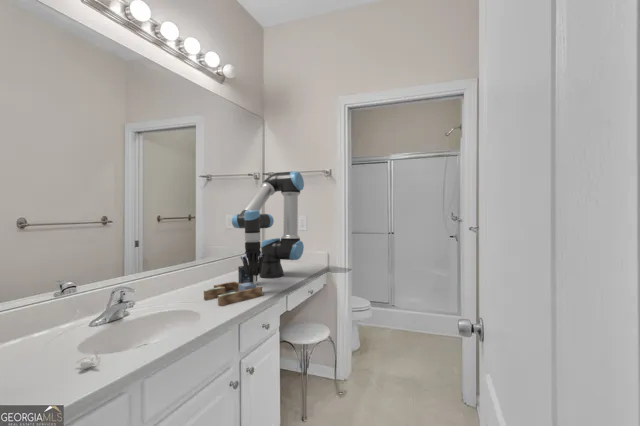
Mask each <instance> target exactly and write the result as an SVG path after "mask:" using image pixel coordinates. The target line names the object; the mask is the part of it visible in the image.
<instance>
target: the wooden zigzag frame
mask: <svg viewBox="0 0 640 426" xmlns="http://www.w3.org/2000/svg"><path fill="white" fill-rule="evenodd" d="M239 284H244V283H239V282H237V281H229V282H225V283H220V284H215V285H213V288H208V289H204V290H203V300H204V301H208V300H212V299H213V300H214V299H216V298H217V305H218V306H219V307H221V306H227V305H229V304H233V303H238V302H242V301H246V300H249V299H254V298H258V297H262V296H263V287H262V286H258V287H257V286H256V288H252V289H248V290H243V291H239V288H238V285H239Z"/></svg>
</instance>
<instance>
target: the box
mask: <svg viewBox="0 0 640 426" xmlns="http://www.w3.org/2000/svg"><path fill="white" fill-rule="evenodd" d="M248 266H249V264H248ZM237 267H238V273H237V274H238V283H248V282H249V283H250V281H249V275H246V273H245V269H244V265H241V266H237Z"/></svg>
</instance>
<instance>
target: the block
mask: <svg viewBox="0 0 640 426" xmlns="http://www.w3.org/2000/svg"><path fill="white" fill-rule="evenodd" d="M238 288H239V291H243V290H248V289H252V288H257V283H256V284H253V283H249V282H248V283H244V284H239V285H238Z"/></svg>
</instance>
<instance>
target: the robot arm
mask: <svg viewBox="0 0 640 426" xmlns="http://www.w3.org/2000/svg"><path fill="white" fill-rule="evenodd" d="M304 187H305V181H304V178H303V176H302V174H301V173H300V172H298V171H282V172H281V171H280V172H275V173H273V174H271V175H269V176H268V177H266V178H265V179H264V180H263V181H262V182H261V184H260V186H259V189H258V190H257V191H256V193H255V194H254V196H253V197H252V198H251V199H250V200H249V202H248V203H247V205H245V207H244V208H243V210H242V211H241V212H240V214H239V213H237V214H234V215H233V216H232V217H231V224H232V226H233V227H234V228H235V229H244V241H245V243H244V249H245V252H244V254H243V256H240V259H241V260H242V261H241V262H242V264H243V265H242V266H244V269H245V273H246V275H249V281H250V283H253V284H256V285H257V282H258V277H260V278H263V279H274V278H281V277H284V270H283V267H282V263H281V260H285V261H297V260H300V259H301V257H302V256H303V254H304V249H305V247H304V242H303V241H302V240H301V237H300V236H299V234H298V221H299V220H298V217H299V216H298V214H299V212H298V206H299V204H298V201H299V200H298V199H299V198H298V197H299V196H300V194H301V191H302V190H303V189H304ZM276 192H280V193H281V195H282V196H283V233H282V236H281V237H277V238H270V239H264V240H262V241H261V229H268V228H272V226H273V225H274V222H275V221H274V217H273V216H272V215H271V214H269V213H261V212H260V211H261V209H262V208H263V207H264V205H265V204H266V202H267V201H268V199H270V197H271V196H273V195H274V194H275V193H276ZM248 265H249V266H248Z"/></svg>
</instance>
